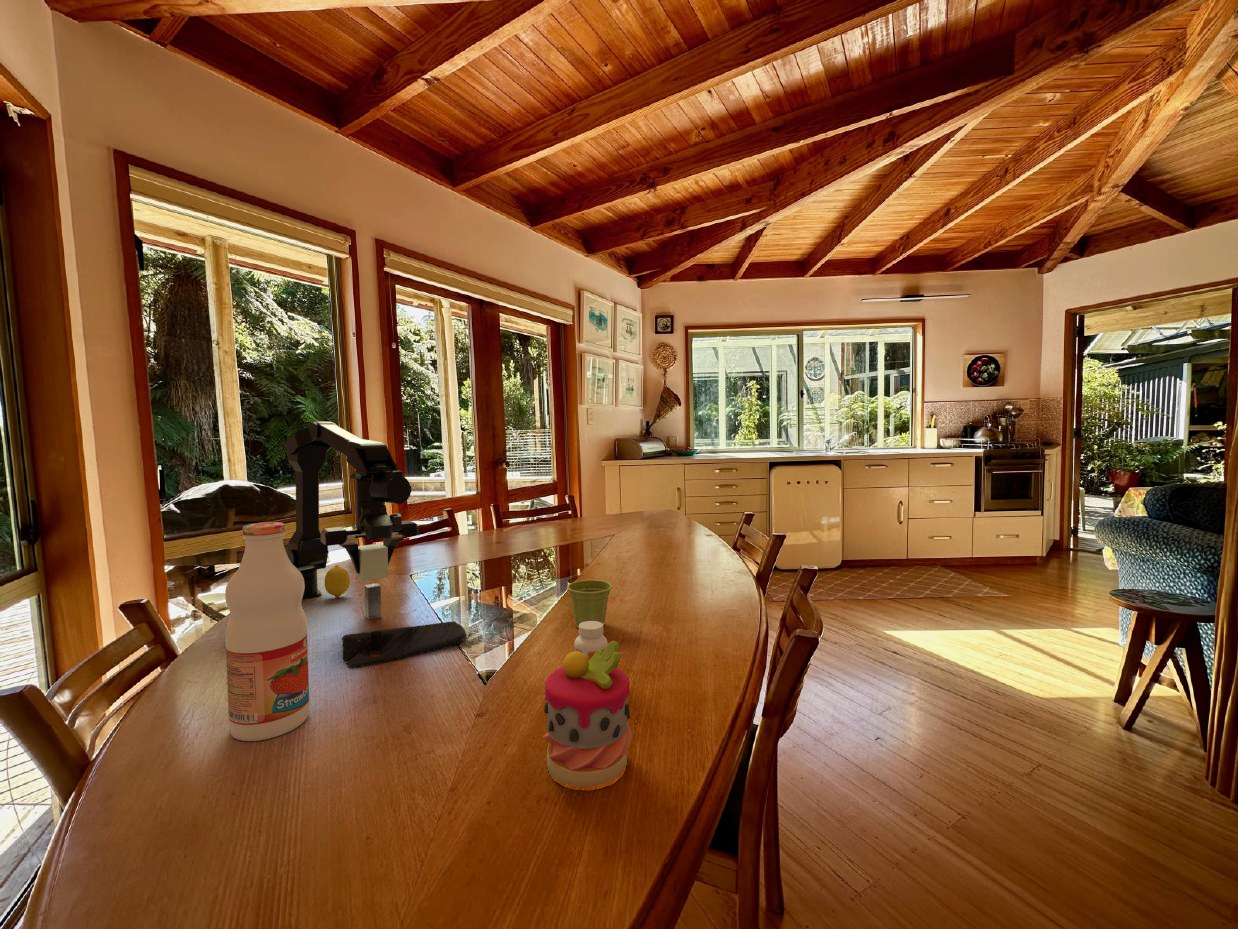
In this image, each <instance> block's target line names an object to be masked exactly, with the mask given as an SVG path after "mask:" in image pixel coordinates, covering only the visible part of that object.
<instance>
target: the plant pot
mask: <svg viewBox="0 0 1238 929" xmlns="http://www.w3.org/2000/svg"><path fill="white" fill-rule="evenodd" d="M612 588H613V585H612V584H611V583H610V582H608V581H605V580H599V579H584V580H577V581H574V582H571V583H569V584H568V585H567V590H568V592H569V596H570V598H571V603H572V610H573V616H574V618H573V619H574V625H575V624H576V625H577V626H579V624H580V623H582V622H586V621H597V622H601V623H604V622H605V623H606V617H607V616H606V615H607V608H608V602H609V601H608V600H609V596H610V594H611V593H610V592H611V590H612Z"/></svg>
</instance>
